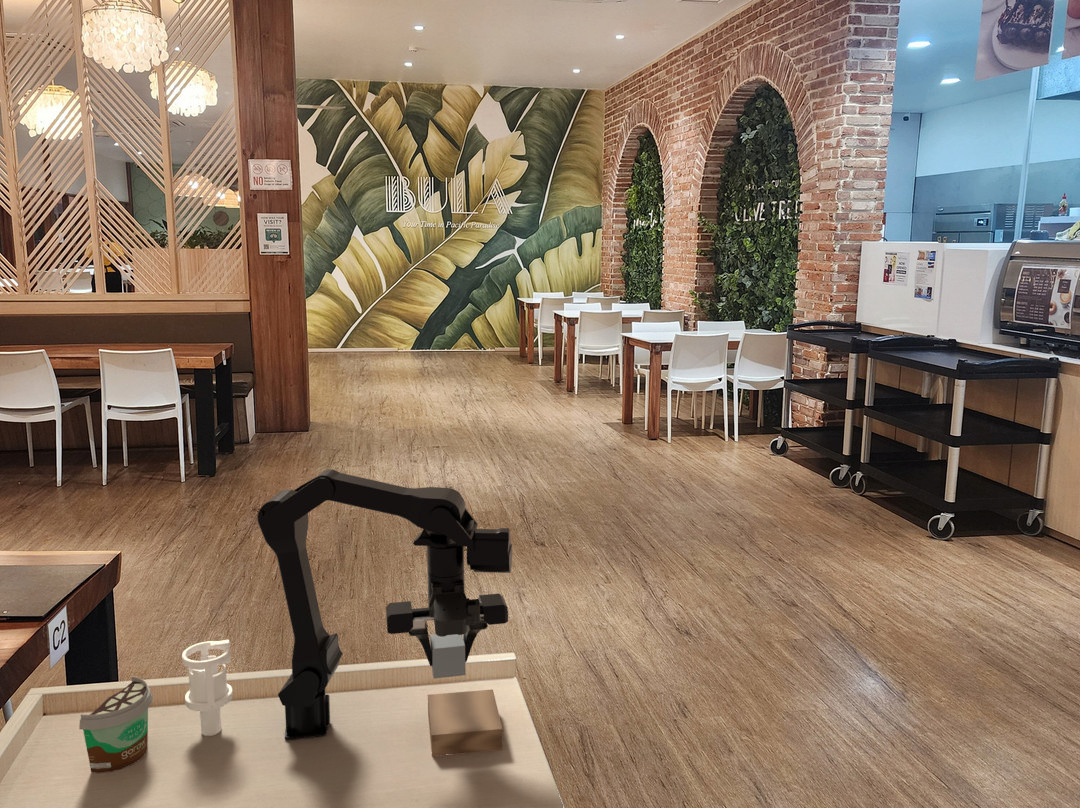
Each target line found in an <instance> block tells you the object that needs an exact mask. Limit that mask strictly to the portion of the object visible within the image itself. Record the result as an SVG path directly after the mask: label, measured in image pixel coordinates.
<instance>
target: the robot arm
mask: <svg viewBox="0 0 1080 808" xmlns="http://www.w3.org/2000/svg"><path fill="white" fill-rule="evenodd" d="M326 501H329V502H335V503H338V504H343V505H347V506H353V507H357V508H362V509H365V510H371V511H375V512H380V513H384V514H389V515H392V516H397V517H400V518H403V519H405V520H407V521H408V522H410V523H411V524H413V525H414V526H415V527H417V528H419V529H422V531H420V532H419V533H418V534H417V535H416V537H415V538H414V540H413V544H412V545H414V546H417V547H424V546H425V547H426V563H427V564H426V565H427V566H426V569H427V603H428V605H427V607H419V608H413V607H412V601H411V600H410V601H399V602H398V601H396V602H388V604H387V605H386V606H385V615H386V616H385V617H386V618H385V620H386V631H387V634H390V635H395V634H407V633H408V636H410V637H416V638H417V639H418V640H419V643H420V645H421V647H422V649H423V650H424V654H425V656H426V659H427V662H428V664H429V666H430V667H431V666H432V652H431V647H430V634H429V632H428V631H429V630H428V625H427V624H428V623H427V621H433V623H434V624H433V625H434V632H435V633H434V634H436V635H438V636H440V637H444V636H446V635H455V634H458V635H462V636H463V640H464V644H465V663H467V662H468V659H469V655H470V653H471V650H472V647H473V644H474V641H475V639H476V638H477V635H478V634H479V633H480V632H481V631H482V630H487V629H488V625H491V626H492V625H503V624H507V623H508V622H509V610H508V606H507V603H506V600H505V599H504V598H505V597H504V596H503V595H502V594H501V593H491V594H479V595H478V598H471V599H470V598H467V595H466V590H465V589H466V588H465V587H466V586H465V547H466V565H467V566H468V567H469V570H470V571H473V572H474V573H485V574H486V573H487V574H489V573H490V574H491V573H492V574H494V573H496V574H498V573H499V574H510V573H512V565H513V544H512V540H511V539H512V537H511V532H510V531H511V529H510V528H508V527H500V528H478V526H479V523H478V522H477V521H476V520H475V518H474V516H472V515H471V512H469V511H468V509H467V508H466V503H465V500H464V497H463V496H462V494H461V493H460V492H459V491H458V490H456V489H454V488H450V487H439V486H438V487H437V486H427V487H405V486H401V485H396V484H392V483H387V482H383V481H378V480H374V479H370V478H365V477H360V476H356V475H353V474H348V473H342V472H339V471H338V470H335V469H332V468H331V469H330V468H329V469H325V470H322V471H321V472H320V473H319V474H318V475H316V476H315V477H313V478H312V479H310V480H308V481H306V482H305V483H304V484H302V485H300V486H298V487H296V488H295V489H283V490H280V491H278V492H277V493H276V494H275V495H274V496H272V497H271V498H270V499H269V500H268V501H266V502H265V503H264V504H263V505H262V506H261V508H259V511H258V512H257V524H258V527H259V529H260V532H261V534H262V536H263V539H264V541H265V543H266V544H267V545H268V547H269V548H270V549H271V550H272V552H273V553H274V554H275V556H276V559H277V565H278V568H279V569H278V570H279V572H280V579H281V582H282V588H283V591H284V596H285V601H286V604H287V611H288V615H289V620H290V624H291V628H292V633H293V637H294V638H293V639H294V643H293V649H292V655H291V657H292V658H291V674H290V675H289V678H287V680H286V681H285V683H284V684H283V686H282V687H281V688H280V690H279V692H278V693H277V696H278V698H279V701H280V703H281V705H282V706H283V707H284V712H285V713H284V715H285V717H284V718H285V728H284V729H285V730H284V739H285V740H296V739H304V738H305V739H306V738H314V737H322V736H326V735H327V734H328V726H330V725H331V703H330V695H329V694H328V693H326V688H327V686H328V684H329V683H330V681H331V679H332V677H333V676H334V674H335V672H336V670H338V667H339V665H340V660H341V659H342V656H343V654H344V653H343V652H342V650H341V648H340V645H339V634H338V633H337V632H336V633H333V634H329V633H328V632H327V630H326V629H325V627H324V626H323V621H322V617H321V611H320V607H319V603H318V598H317V593H316V588H315V584H314V579H313V574H312V569H311V564H310V560H309V555H308V550H307V537H308V529H309V513H310V512H311V511H313V510H314V509H315V508H317V507H318V506H320V505H322V504H323V503H324V502H326Z"/></svg>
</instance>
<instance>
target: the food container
mask: <svg viewBox="0 0 1080 808" xmlns="http://www.w3.org/2000/svg"><path fill="white" fill-rule="evenodd" d="M153 699H154V698H153V695H152V691H151V689H150V686H149V685H148V684H147V682H146V681H145V680H144V679H142V678H140V677H137V676H131V682H130V683H129V684H128V685H127V686H126V687H124V688H122V690H120V691H118V692H117V693H115V694H112V695H111V696H109V697H107V699H106V700H104V701H103V702H102V703H101V705H100V706H99V707H97V708H96V709H95V710H94V711H92V712H91V713H90V714H80V719H79V727H78V728H79V730H83V736H84V742H85V747H86V753H87V757H88V761H89V767H90V772H91V773H94V772H95V774H101V773H104V774H105V773H113V772H115V771H121V770H123V769H125V768H128V767H130V766H132V765H133V764H136V763H138V760H139V761H140V760H141V759H142V758H143V757H144V756H145V755H146V753H147V752H146V751H148V742H149V741H148V738H149V737H148V734H149V731H148V730H149V729H148V727H149V725H148V724H149V708H150V706H151V705H152V703H153ZM144 754H145V755H144ZM135 762H136V763H135Z"/></svg>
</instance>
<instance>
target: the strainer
mask: <svg viewBox="0 0 1080 808" xmlns="http://www.w3.org/2000/svg"><path fill="white" fill-rule="evenodd" d="M230 646H231V645H230V640H229V639H223V640H219V641H217V640H210V641H203V642H202V641H201V642H198V643H195V644H193V645H191V646H189V647H187V648H186V649H185V650H183V652H181V653H182V654H181V658H182V659H181V660H182V665H183V666H185V667H186V668H188V670H187V671H188V681H189V682H188V683H189V684H188V685H189V690H188V691H187V692H186V693H185V696H184V698H185V699H184V700H185V701H184V702H185V706H186V708H187V709H189V710H191V711H195V712H199V718H200V732H201V735H202V736H205V737H211V736H215V735H218V734H219V733H221V731H222V718H221V708H223V707H224V706H226V705H227V704H229V703H230V702H231V700H232V699H233V696H234V695H233V686H231V685H230V684H229V683H228V681H227V666H226V664H231V661H232V660H231V647H230ZM211 649H214V650H221V651H222V654H221V655H219V656H217V655H209V654H210V652H209V650H211ZM198 652H200V654H201V655H200V660H193V659H190V658H189V657H190V656H191V655H193V654H194V653H198ZM219 665H222V667H223V669H222V670H221V671H220V672H219V670H218V669H219V668H218V667H219Z"/></svg>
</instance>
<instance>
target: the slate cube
mask: <svg viewBox="0 0 1080 808" xmlns="http://www.w3.org/2000/svg"><path fill="white" fill-rule="evenodd" d="M463 636H464V635H458V634H455V635H446V636H444V637H440V636H438V635H436V633H433V634H432V633H430V634H429V641H430V647H431V652H432V666H430V667H431V670H432V671H431V672H432V677H433V679H435V680H436V679H443V678H452V677H462V676H466V662H465V644H464V640H463Z"/></svg>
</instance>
